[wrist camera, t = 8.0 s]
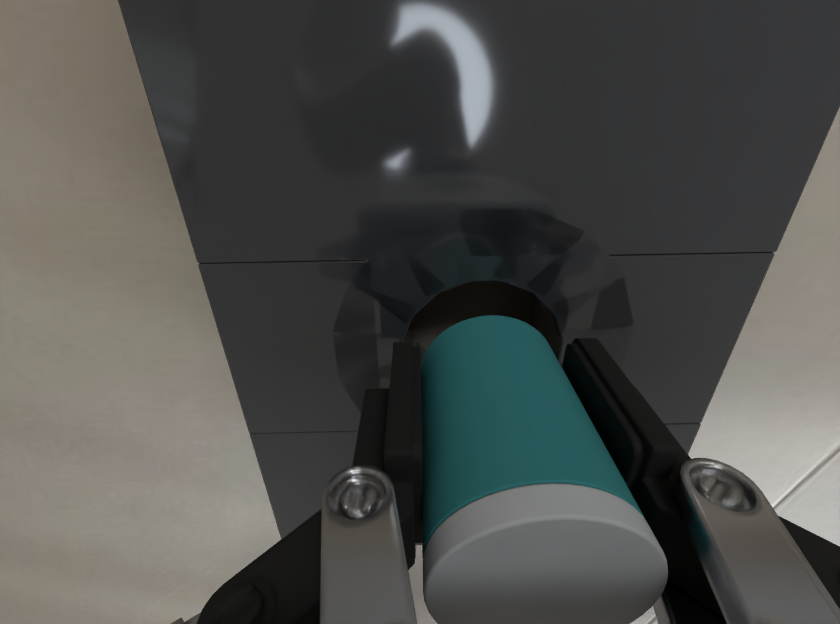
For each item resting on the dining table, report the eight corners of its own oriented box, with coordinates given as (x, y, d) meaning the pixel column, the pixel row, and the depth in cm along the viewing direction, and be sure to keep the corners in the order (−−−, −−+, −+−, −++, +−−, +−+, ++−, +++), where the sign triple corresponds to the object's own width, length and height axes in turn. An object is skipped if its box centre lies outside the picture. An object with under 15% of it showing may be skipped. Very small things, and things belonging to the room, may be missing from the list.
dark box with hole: (177, -26, 10) (95, -68, 8) (792, -36, 10) (922, -81, 8) (301, 488, 20) (283, 548, 17) (619, 481, 20) (650, 540, 17)
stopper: (418, 315, 11) (422, 520, 6) (563, 313, 11) (704, 514, 6) (420, 424, 13) (424, 653, 7) (543, 421, 13) (636, 649, 7)
